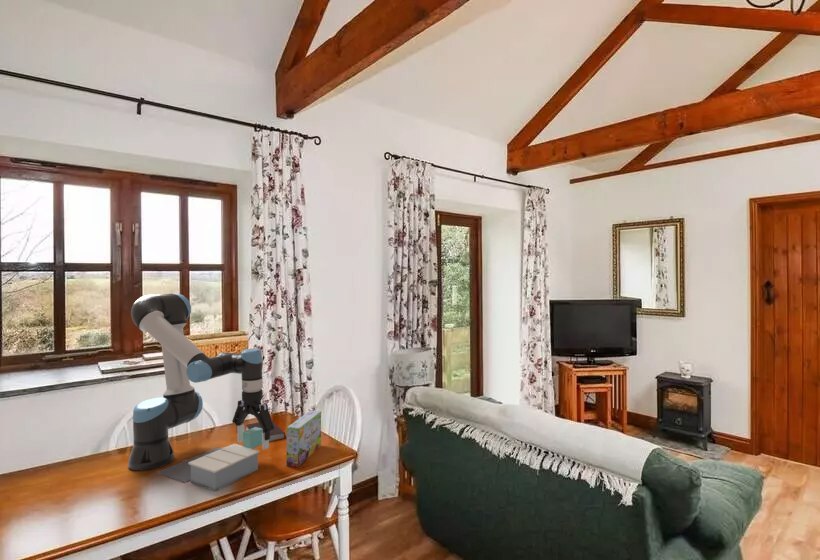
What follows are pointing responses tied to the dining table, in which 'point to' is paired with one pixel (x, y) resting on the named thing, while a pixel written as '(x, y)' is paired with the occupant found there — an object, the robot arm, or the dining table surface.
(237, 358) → the robot arm
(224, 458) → the lid
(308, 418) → the snack box
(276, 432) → the book
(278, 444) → the dining table surface
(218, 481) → the tub
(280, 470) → the dining table surface
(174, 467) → the mat
